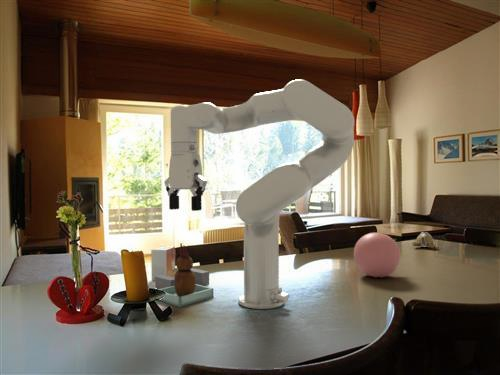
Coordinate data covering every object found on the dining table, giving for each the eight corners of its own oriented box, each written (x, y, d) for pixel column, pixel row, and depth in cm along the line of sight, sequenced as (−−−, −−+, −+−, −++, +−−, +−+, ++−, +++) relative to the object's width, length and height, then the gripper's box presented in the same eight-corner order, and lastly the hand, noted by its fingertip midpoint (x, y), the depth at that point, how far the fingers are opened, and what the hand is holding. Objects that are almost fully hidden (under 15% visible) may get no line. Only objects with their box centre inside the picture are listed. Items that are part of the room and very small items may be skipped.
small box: (166, 281, 134) (166, 250, 133) (151, 280, 135) (150, 249, 135) (175, 275, 141) (175, 246, 141) (161, 275, 143) (160, 245, 142)
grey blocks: (209, 283, 130) (209, 271, 130) (171, 293, 118) (171, 280, 118) (193, 280, 135) (192, 268, 135) (155, 289, 123) (154, 276, 123)
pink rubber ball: (415, 275, 140) (415, 231, 140) (384, 284, 127) (384, 236, 127) (376, 268, 152) (376, 228, 152) (344, 276, 139) (344, 232, 139)
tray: (213, 297, 115) (213, 288, 115) (180, 307, 105) (179, 297, 105) (188, 290, 122) (188, 282, 122) (154, 299, 113) (154, 290, 113)
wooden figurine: (172, 294, 116) (172, 242, 116) (192, 292, 118) (191, 241, 118) (176, 300, 109) (176, 246, 109) (197, 298, 111) (197, 244, 111)
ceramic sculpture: (436, 229, 203) (435, 234, 190) (437, 245, 204) (435, 252, 191) (414, 228, 208) (411, 233, 195) (414, 244, 209) (411, 250, 196)
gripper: (215, 148, 111) (215, 210, 111) (175, 152, 122) (176, 208, 122) (194, 147, 105) (195, 211, 105) (155, 151, 116) (155, 209, 116)
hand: (185, 209), depth 114 cm, fingers open, 9 cm apart
